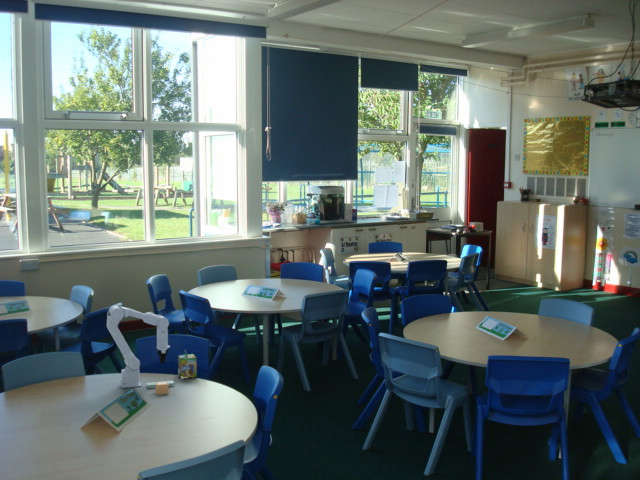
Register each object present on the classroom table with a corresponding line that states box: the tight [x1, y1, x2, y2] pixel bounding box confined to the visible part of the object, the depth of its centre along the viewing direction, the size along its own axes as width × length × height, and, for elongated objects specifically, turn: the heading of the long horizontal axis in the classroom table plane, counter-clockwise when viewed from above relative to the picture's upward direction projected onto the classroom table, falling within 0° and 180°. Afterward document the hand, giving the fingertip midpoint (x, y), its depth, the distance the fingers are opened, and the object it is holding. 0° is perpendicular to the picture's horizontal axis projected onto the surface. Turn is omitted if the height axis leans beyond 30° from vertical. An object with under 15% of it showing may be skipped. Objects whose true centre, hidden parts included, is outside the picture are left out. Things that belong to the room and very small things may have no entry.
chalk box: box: [177, 349, 198, 379], centre depth 356 cm, size 9×9×15 cm
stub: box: [155, 381, 170, 395], centre depth 328 cm, size 6×5×5 cm
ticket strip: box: [145, 380, 175, 389], centre depth 338 cm, size 14×5×2 cm, turn 109°
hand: (162, 363), depth 347 cm, fingers closed
